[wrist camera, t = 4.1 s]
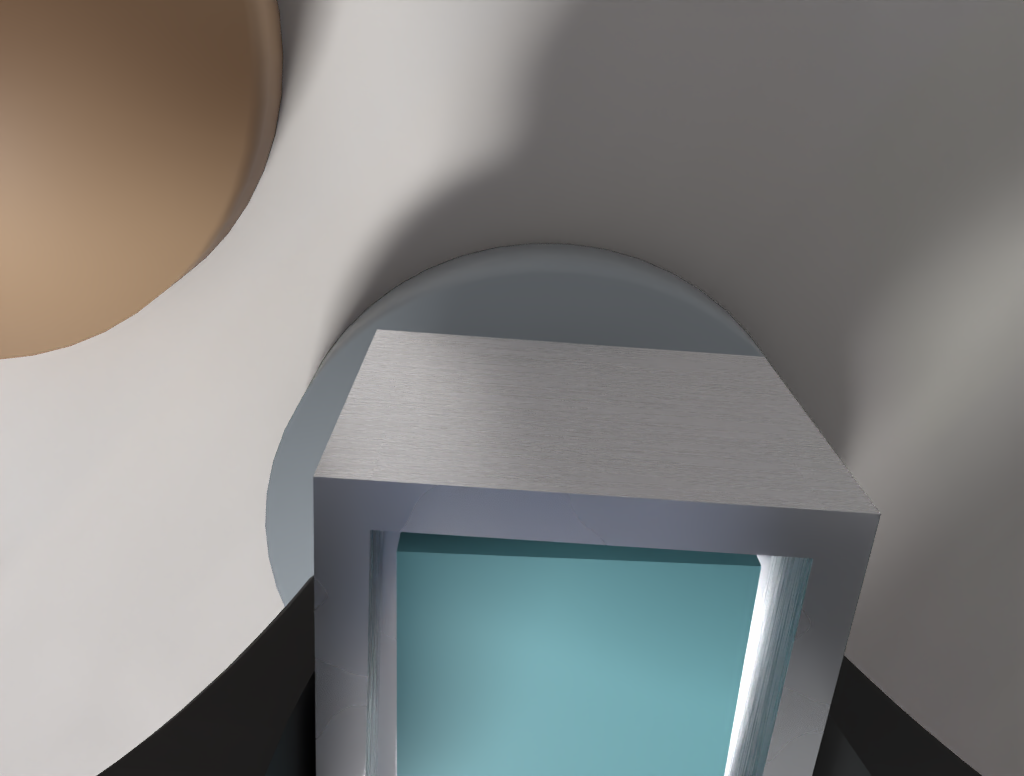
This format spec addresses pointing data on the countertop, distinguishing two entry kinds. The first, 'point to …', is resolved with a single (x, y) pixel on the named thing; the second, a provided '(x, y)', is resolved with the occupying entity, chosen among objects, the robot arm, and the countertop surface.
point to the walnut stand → (123, 152)
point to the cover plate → (567, 657)
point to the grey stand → (497, 314)
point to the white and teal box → (584, 511)
